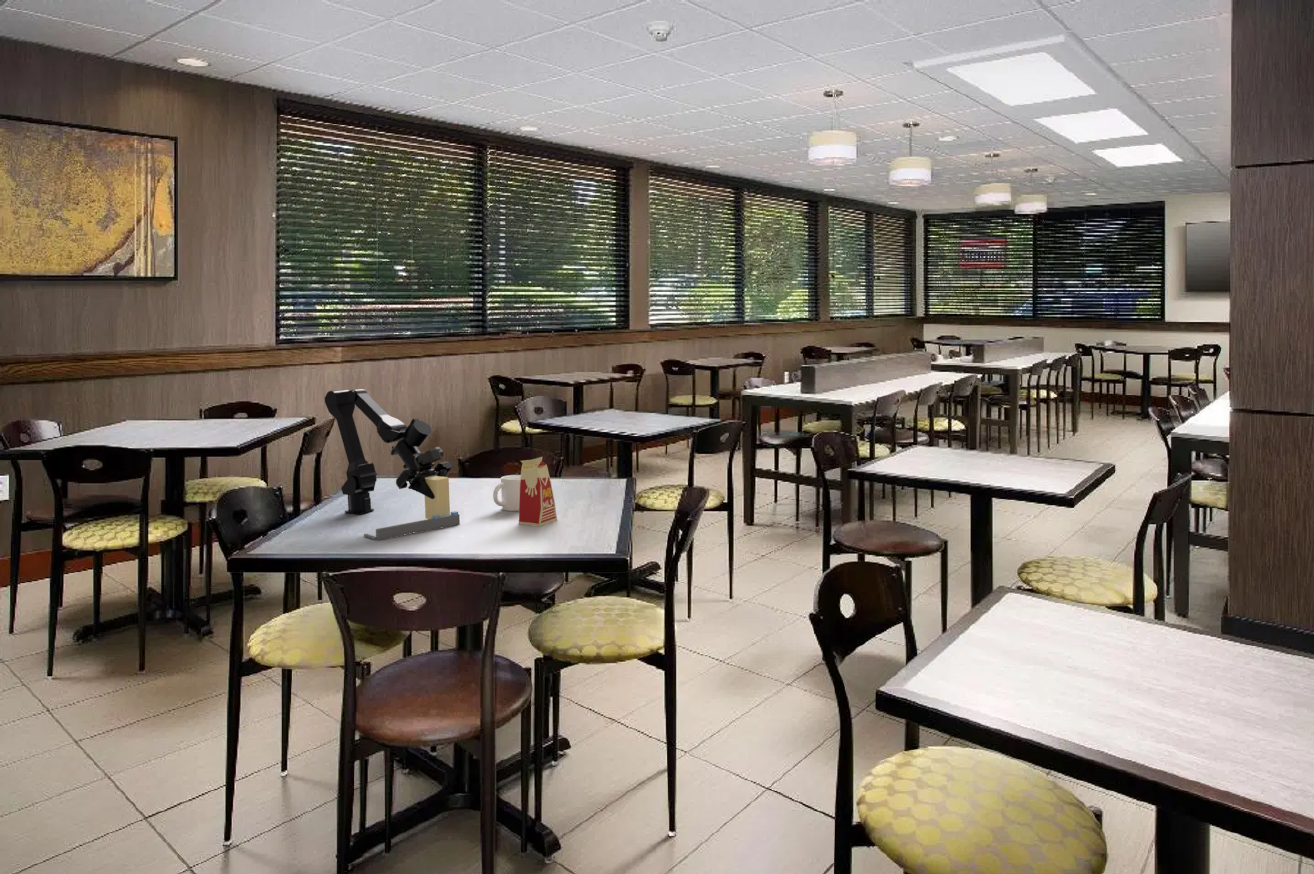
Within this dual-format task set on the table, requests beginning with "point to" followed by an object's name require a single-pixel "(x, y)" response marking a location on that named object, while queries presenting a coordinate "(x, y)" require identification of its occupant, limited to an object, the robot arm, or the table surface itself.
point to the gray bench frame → (416, 526)
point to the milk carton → (536, 494)
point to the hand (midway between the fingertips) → (440, 496)
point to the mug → (508, 492)
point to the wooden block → (437, 497)
